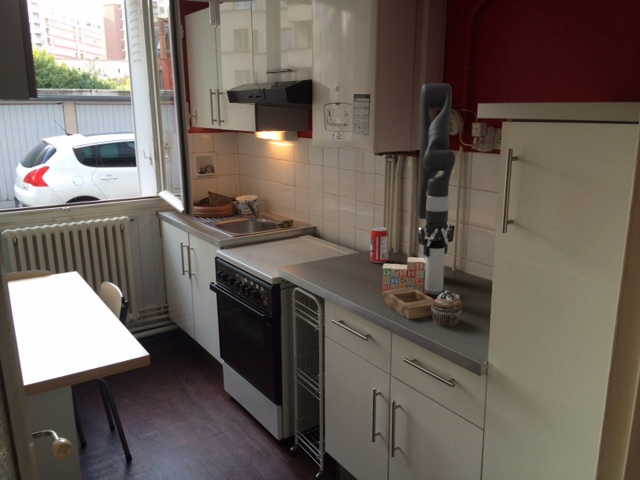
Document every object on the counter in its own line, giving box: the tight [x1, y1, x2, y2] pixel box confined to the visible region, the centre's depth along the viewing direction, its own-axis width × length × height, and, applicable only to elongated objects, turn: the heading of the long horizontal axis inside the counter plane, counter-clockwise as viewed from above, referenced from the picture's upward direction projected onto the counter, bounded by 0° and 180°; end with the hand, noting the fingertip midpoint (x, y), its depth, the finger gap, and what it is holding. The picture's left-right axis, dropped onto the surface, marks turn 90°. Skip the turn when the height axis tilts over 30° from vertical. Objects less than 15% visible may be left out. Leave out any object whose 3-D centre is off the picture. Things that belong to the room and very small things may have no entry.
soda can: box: [369, 226, 390, 264], centre depth 243 cm, size 8×8×15 cm
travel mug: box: [425, 238, 445, 295], centre depth 194 cm, size 6×7×20 cm
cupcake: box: [431, 289, 463, 327], centre depth 176 cm, size 10×10×10 cm
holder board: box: [381, 287, 435, 320], centre depth 189 cm, size 18×12×4 cm, turn 22°
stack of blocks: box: [381, 256, 440, 296], centre depth 206 cm, size 21×6×12 cm, turn 78°
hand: (435, 254), depth 193 cm, fingers closed on travel mug, 6 cm apart
